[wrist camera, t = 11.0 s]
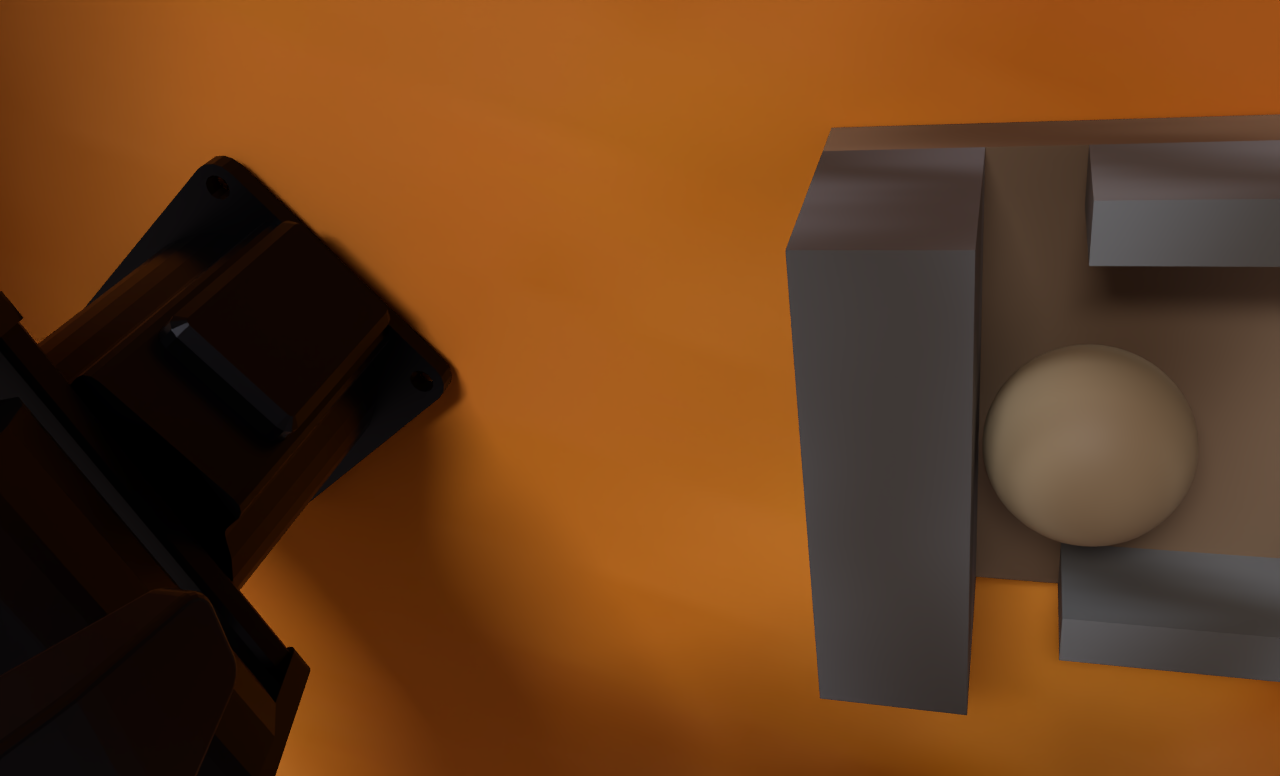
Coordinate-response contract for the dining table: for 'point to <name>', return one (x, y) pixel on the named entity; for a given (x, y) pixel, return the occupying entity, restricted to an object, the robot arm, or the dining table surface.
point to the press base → (1040, 394)
